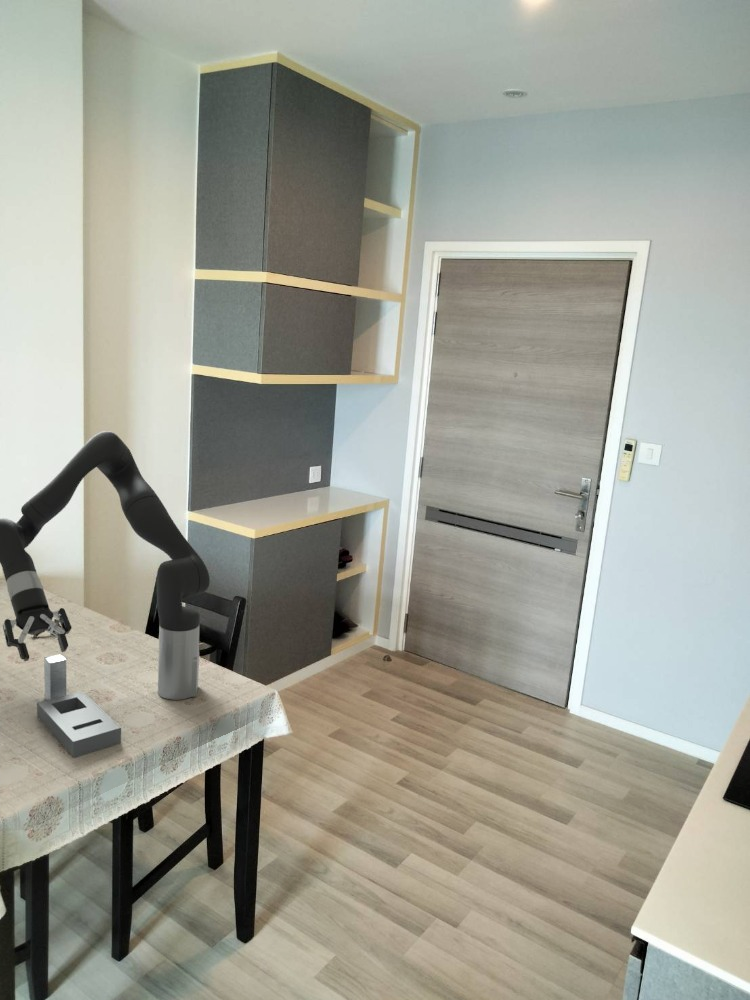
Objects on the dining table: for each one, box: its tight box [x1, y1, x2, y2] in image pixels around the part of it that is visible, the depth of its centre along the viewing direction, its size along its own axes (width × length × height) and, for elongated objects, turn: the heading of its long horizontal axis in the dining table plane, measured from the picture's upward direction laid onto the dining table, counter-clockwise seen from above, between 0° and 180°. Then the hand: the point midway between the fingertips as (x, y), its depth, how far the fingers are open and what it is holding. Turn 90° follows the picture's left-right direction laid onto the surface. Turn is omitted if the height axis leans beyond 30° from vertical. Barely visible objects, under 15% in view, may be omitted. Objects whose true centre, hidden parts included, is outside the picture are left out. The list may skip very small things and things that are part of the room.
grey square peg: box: [43, 654, 67, 700], centre depth 174 cm, size 4×4×10 cm
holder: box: [36, 690, 122, 758], centre depth 162 cm, size 20×10×4 cm, turn 43°
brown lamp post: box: [33, 618, 62, 639], centre depth 209 cm, size 2×8×4 cm, turn 126°
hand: (45, 655), depth 177 cm, fingers open, 8 cm apart
